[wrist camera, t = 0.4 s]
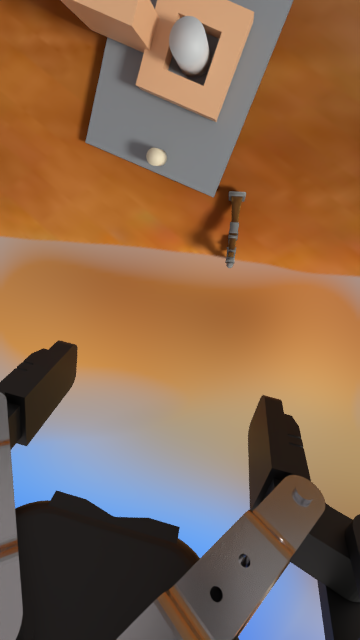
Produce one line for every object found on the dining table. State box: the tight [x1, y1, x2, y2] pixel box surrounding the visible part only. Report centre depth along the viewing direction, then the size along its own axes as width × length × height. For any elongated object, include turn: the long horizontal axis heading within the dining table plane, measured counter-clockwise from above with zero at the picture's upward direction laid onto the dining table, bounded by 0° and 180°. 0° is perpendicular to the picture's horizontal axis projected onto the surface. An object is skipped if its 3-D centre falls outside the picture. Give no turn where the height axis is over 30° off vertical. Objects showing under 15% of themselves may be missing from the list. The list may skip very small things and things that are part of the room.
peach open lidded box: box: [61, 0, 254, 122], centre depth 26 cm, size 14×8×8 cm, turn 69°
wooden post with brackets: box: [226, 191, 246, 268], centre depth 36 cm, size 2×8×4 cm, turn 178°
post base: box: [86, 0, 293, 197], centre depth 29 cm, size 17×15×6 cm
